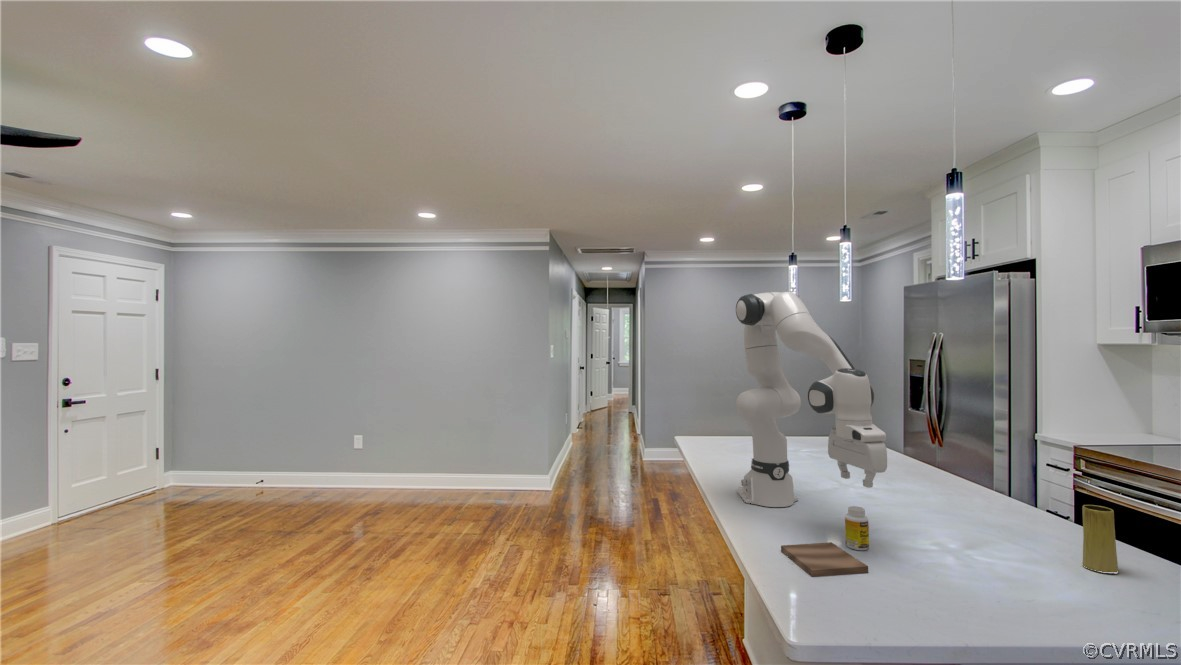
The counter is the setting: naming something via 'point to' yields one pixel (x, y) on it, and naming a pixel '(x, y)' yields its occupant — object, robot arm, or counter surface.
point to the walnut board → (823, 559)
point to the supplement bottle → (857, 528)
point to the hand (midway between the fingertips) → (856, 482)
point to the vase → (1099, 539)
